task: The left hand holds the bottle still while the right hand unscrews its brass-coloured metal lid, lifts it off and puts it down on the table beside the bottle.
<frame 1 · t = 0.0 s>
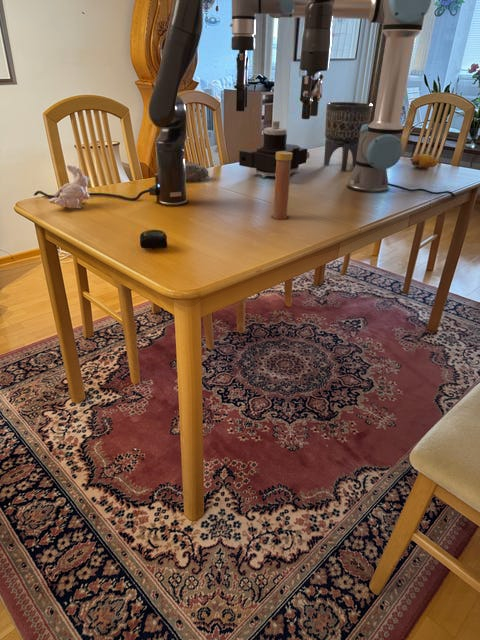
left hand: (309, 117, 126), 29 cm above the table, tool pointing down, fingers open, 8 cm apart
right hand: (241, 109, 155), 28 cm above the table, tool pointing down, fingers open, 13 cm apart
rock: (194, 180, 183), on the table
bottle: (279, 217, 143), on the table
tape measure: (155, 248, 118), on the table
figurine: (73, 207, 148), on the table
toy: (422, 167, 214), on the table
lid: (284, 154, 133), point 19 cm above the table, screwed on, not yet turned
mechanical component: (280, 173, 196), on the table
planter: (341, 167, 211), on the table
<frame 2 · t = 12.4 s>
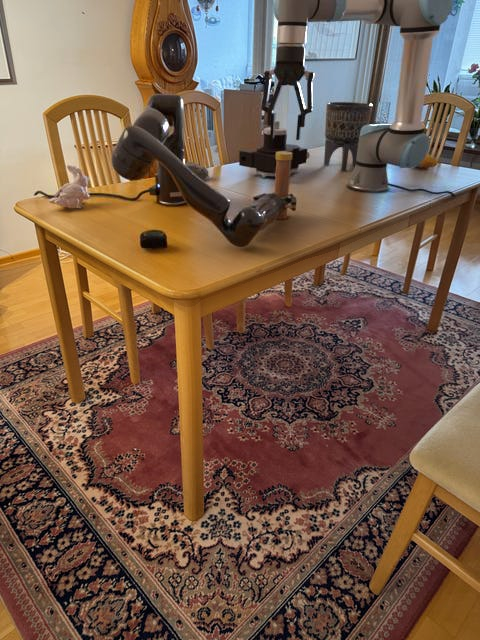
left hand: (283, 195, 142), 6 cm above the table, tool horizontal, fingers closed on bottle, 4 cm apart
right hand: (285, 138, 131), 23 cm above the table, tool pointing down, fingers open, 7 cm apart
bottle: (279, 217, 143), on the table, touching left hand
everything else where it was.
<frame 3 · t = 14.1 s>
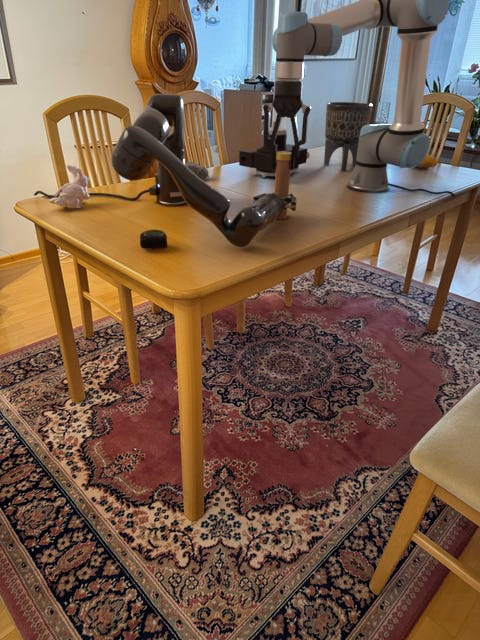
left hand: (283, 195, 142), 6 cm above the table, tool horizontal, fingers closed on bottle, 4 cm apart
right hand: (283, 168, 135), 15 cm above the table, tool pointing down, fingers closed on lid, 5 cm apart
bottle: (279, 217, 143), on the table, touching left hand
lid: (284, 154, 133), point 19 cm above the table, screwed on, not yet turned, touching right hand
everything else where it was.
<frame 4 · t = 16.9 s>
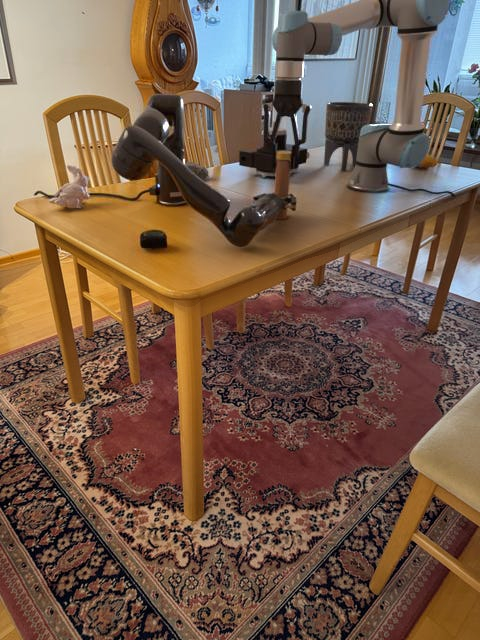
left hand: (283, 195, 142), 6 cm above the table, tool horizontal, fingers closed on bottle, 4 cm apart
right hand: (283, 167, 135), 15 cm above the table, tool pointing down, fingers closed on lid, 5 cm apart
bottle: (279, 217, 143), on the table, touching left hand
lid: (284, 153, 133), point 19 cm above the table, turned 74° so far, risen 0.2 cm, still on its thread, touching right hand
everything else where it was.
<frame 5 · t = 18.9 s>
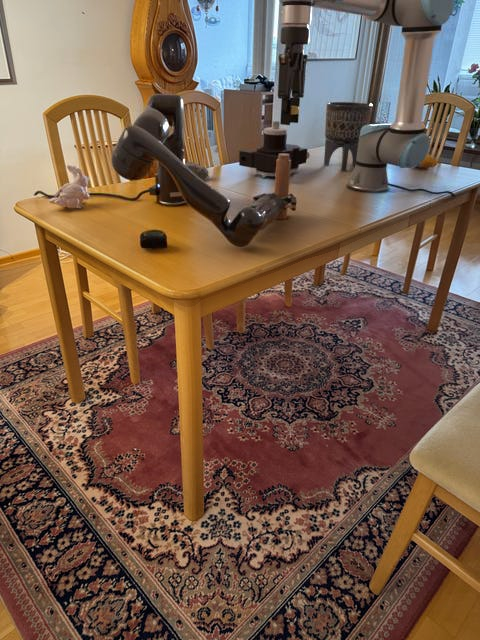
left hand: (283, 195, 142), 6 cm above the table, tool horizontal, fingers closed on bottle, 4 cm apart
right hand: (289, 123, 129), 27 cm above the table, tool pointing down, fingers closed on lid, 5 cm apart
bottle: (279, 217, 143), on the table, touching left hand
lid: (290, 107, 127), point 31 cm above the table, off its thread, touching right hand
everything else where it was.
when the right hand's fingers open (0 cm above the table, at t = 24.2 s): lid drops 3 cm, point 1 cm above the table.
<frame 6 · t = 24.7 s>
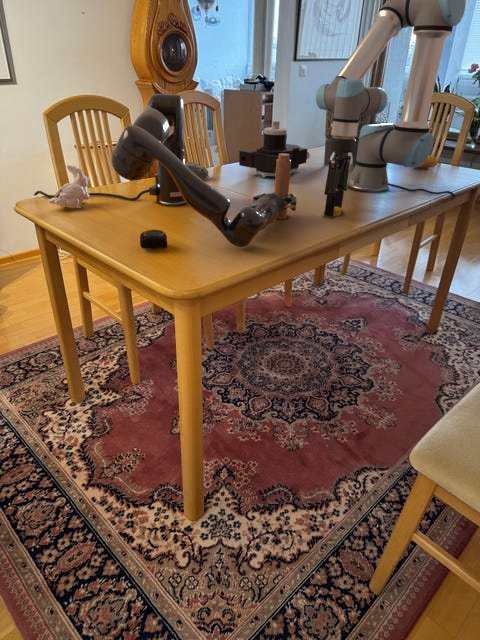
left hand: (283, 195, 142), 6 cm above the table, tool horizontal, fingers closed on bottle, 4 cm apart
right hand: (332, 213, 146), 0 cm above the table, tool pointing down, fingers open, 7 cm apart
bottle: (279, 217, 143), on the table, touching left hand
lid: (334, 209, 146), point 1 cm above the table, off its thread
everything else where it was.
when the left hand's fingers open (6 cm above the table, at t = 25.3 s): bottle stays where it is, on the table.
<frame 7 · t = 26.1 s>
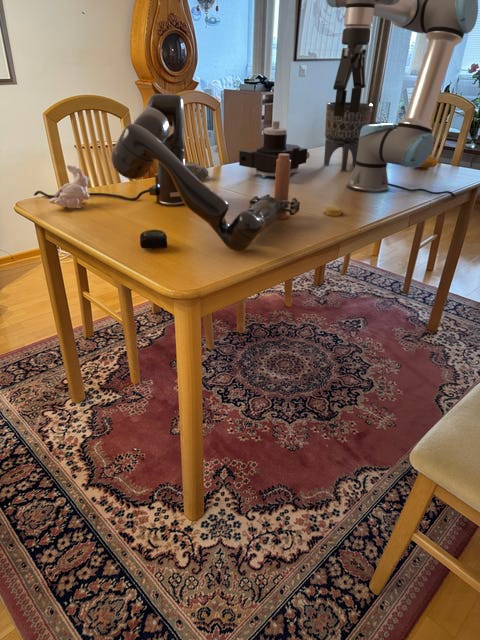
left hand: (281, 199, 140), 6 cm above the table, tool horizontal, fingers open, 8 cm apart
right hand: (346, 114, 132), 30 cm above the table, tool pointing down, fingers open, 13 cm apart
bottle: (279, 217, 143), on the table
everything else where it was.
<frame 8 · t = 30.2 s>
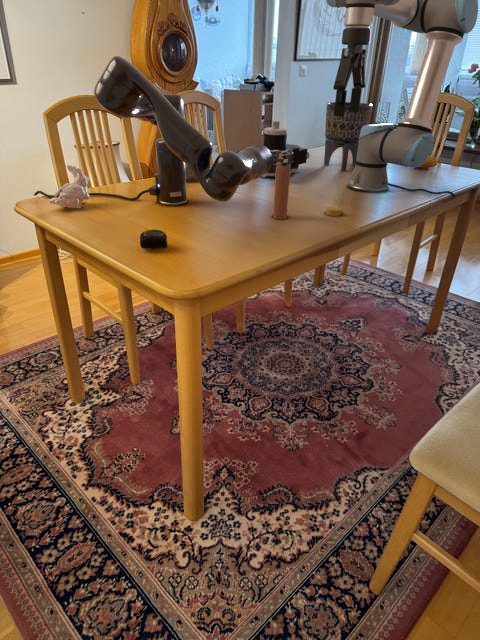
left hand: (273, 152, 124), 21 cm above the table, tool horizontal, fingers open, 8 cm apart
right hand: (346, 114, 132), 30 cm above the table, tool pointing down, fingers open, 13 cm apart
nothing on the table moved.
at the end: lid came off its thread; lid point 1.4 cm above the table; the left hand is holding nothing; the right hand is holding nothing; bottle tilted 0°; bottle moved 0.0 cm from its start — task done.
